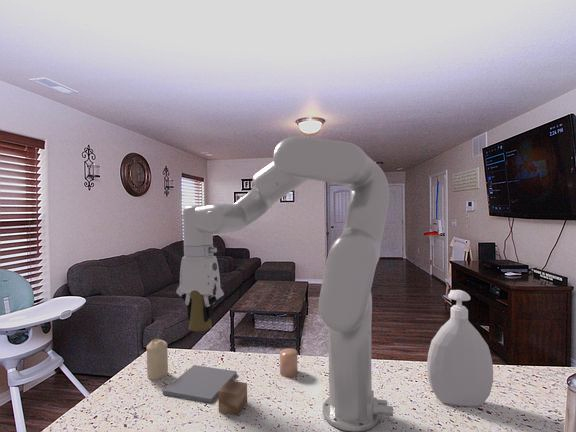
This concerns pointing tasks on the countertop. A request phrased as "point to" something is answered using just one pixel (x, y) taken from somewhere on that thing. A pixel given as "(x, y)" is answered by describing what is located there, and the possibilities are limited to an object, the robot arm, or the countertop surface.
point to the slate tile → (200, 383)
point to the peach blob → (288, 362)
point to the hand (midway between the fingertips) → (200, 318)
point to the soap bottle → (460, 359)
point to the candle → (157, 359)
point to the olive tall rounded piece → (198, 313)
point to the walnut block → (232, 397)
